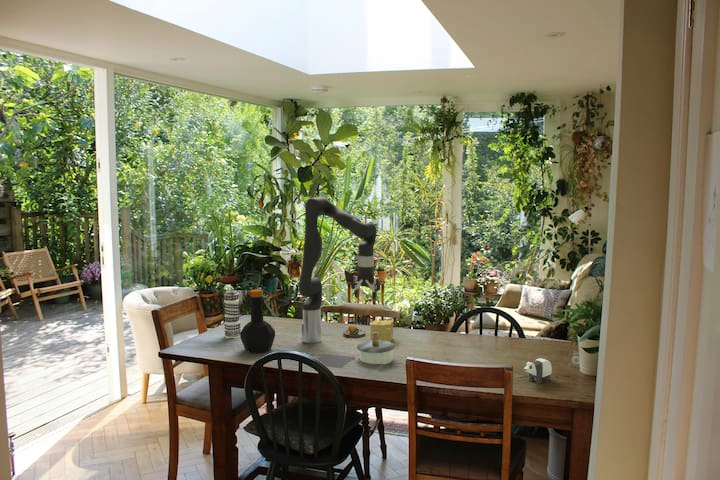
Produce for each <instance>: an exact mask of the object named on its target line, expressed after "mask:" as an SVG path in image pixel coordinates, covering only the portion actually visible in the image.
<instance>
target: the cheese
mask: <svg viewBox="0 0 720 480" xmlns="http://www.w3.org/2000/svg"><path fill="white" fill-rule="evenodd" d="M372 332H379V340H384V341H389V342H391V343H392V341H393V339H394V338H393V337H394V321H393V320H389V319H388V320H377V319H376V320H373V321H372V322H371V324H370V340H372Z"/></svg>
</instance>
